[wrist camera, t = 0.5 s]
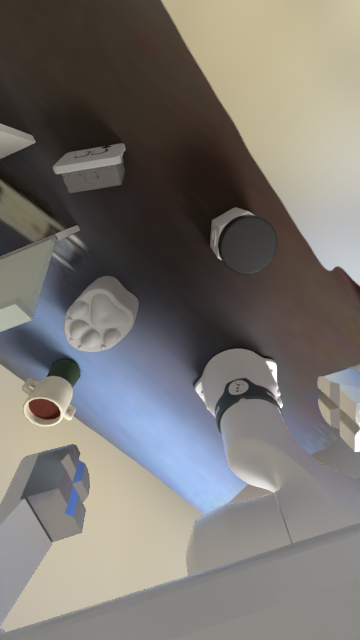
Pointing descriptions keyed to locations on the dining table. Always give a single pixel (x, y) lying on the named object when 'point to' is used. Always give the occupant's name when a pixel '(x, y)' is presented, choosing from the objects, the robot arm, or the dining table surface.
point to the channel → (9, 141)
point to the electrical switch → (92, 168)
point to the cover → (22, 283)
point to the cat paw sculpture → (100, 315)
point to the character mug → (51, 394)
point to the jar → (243, 241)
